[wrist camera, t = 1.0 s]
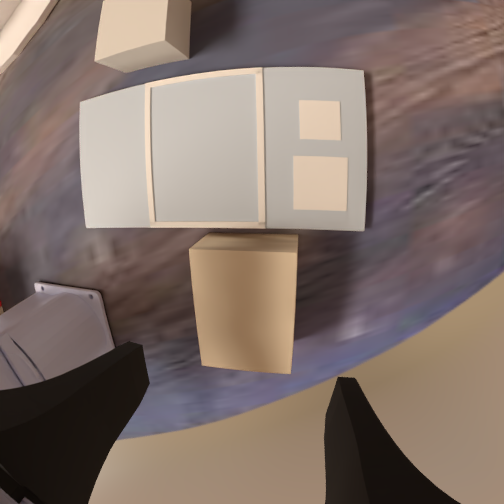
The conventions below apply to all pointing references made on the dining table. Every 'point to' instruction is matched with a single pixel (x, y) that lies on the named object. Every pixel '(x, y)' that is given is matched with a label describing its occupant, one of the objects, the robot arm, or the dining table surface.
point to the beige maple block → (143, 33)
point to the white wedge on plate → (20, 25)
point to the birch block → (245, 300)
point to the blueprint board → (228, 151)
